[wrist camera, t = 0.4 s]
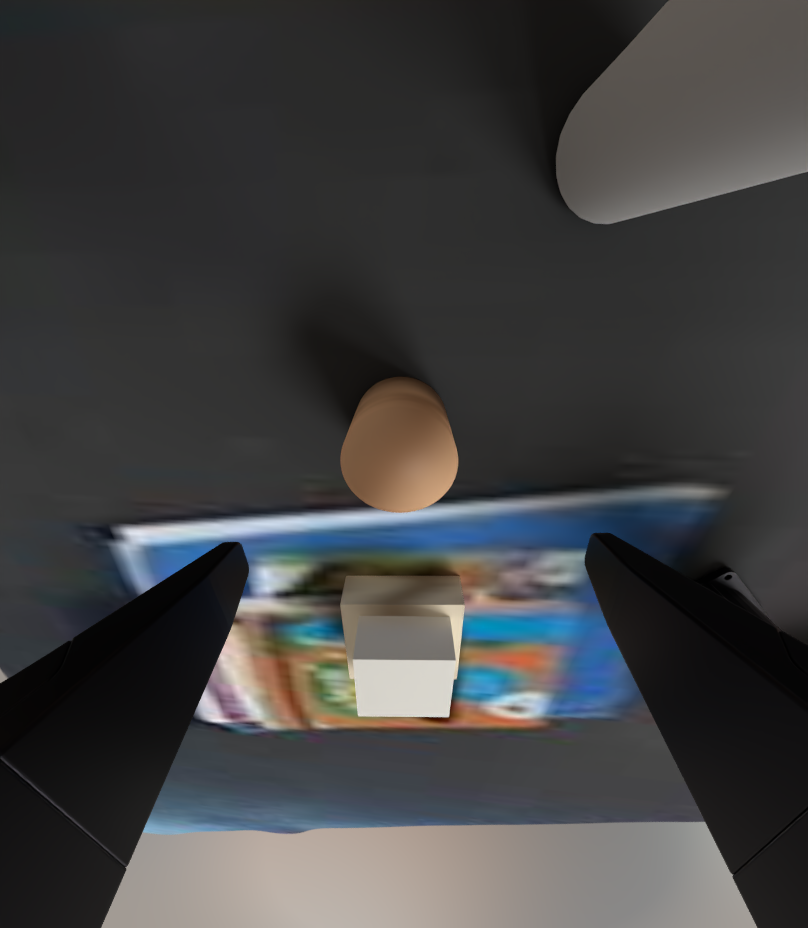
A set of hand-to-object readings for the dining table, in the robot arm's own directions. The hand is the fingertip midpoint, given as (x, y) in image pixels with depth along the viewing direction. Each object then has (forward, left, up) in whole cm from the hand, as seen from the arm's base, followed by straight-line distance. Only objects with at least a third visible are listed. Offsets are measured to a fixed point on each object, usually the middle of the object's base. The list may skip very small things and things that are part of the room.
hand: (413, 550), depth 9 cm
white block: (-11, +12, -9) cm, 19 cm away
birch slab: (-11, +12, -12) cm, 20 cm away
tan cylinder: (0, +1, -11) cm, 11 cm away
